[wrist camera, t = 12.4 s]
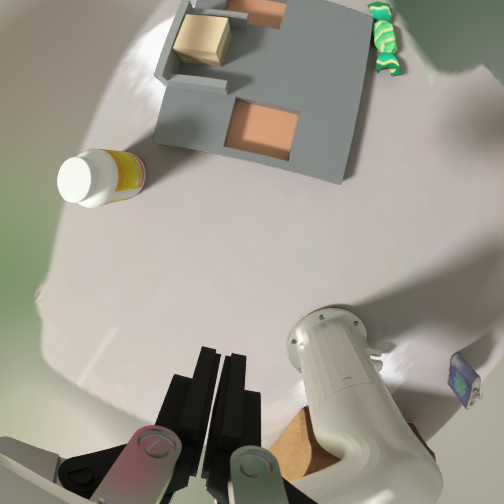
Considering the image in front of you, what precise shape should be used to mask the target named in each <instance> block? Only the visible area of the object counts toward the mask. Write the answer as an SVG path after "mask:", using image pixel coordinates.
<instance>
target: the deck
mask: <svg viewBox="0 0 504 504" xmlns="http://www.w3.org/2000/svg"><path fill="white" fill-rule="evenodd" d="M186 14H190V15H204V16H215V17H224V18H228V21H229V26H230V31H231V39H230V42H229V45H228V48H227V51H226V54H225V57H224V60H223V63H222V66H221V67H215V66H208V65H200V64H192V63H183V61H182V60H181V58H180V57H179V56H178V54H177V53H176V51H175V50H174V49H173V47H174V44H175V42H176V39H177V36H178V34H179V31H180V29H181V26H182V24H183V21H184V19H185V16H186ZM372 23H373V17H371V16H368V15H365V14H363V13H360V12H357V11H355V10H352V9H349V8H346V7H343V6H340V5H337V4H334V3H330V2H327V1H324V0H197V3H196V5H195V7H194V8H193V7H192V5H191V2H190V0H182V1H181V4H180V6H179V8H178V10H177V13H176V15H175V18H174V20H173V23H172V25H171V28H170V30H169V33H168V36H167V38H166V41H165V44H164V46H163V49H162V52H161V55H160V58H159V61H158V64H157V67H156V70H155V73H154V76H155V77H156V78H157V79H158V80H159V81H161V82H162V83H163V84H164V85H165V86H166V87H167V88H166V91H165V94H164V98H163V102H162V105H161V109H160V113H159V117H158V121H157V125H156V129H155V133H154V137H153V141H152V142H153V143H156V144H161V145H167V146H174V147H180V148H185V149H191V150H197V151H202V152H207V153H212V154H217V155H222V156H227V157H232V158H237V159H241V160H246V161H250V162H255V163H259V164H263V165H267V166H272V167H276V168H280V169H284V170H287V171H291V172H295V173H299V174H303V175H306V176H310V177H314V178H317V179H321V180H324V181H328V182H331V183H334V184H340V185H341V184H342V180H343V176H344V172H345V168H346V164H347V160H348V155H349V151H350V147H351V142H352V138H353V133H354V128H355V124H356V119H357V114H358V109H359V104H360V99H361V93H362V88H363V82H364V77H365V71H366V65H367V58H368V52H369V45H370V38H371V31H372Z"/></svg>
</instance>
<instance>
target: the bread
mask: <svg viewBox="0 0 504 504" xmlns="http://www.w3.org/2000/svg"><path fill="white" fill-rule="evenodd" d="M407 424H408V425H409V427H410V428H411V430H412V431H413V433H414V434H415V435H416V437H417V438H418V439H419V440H420V442H421V443H422V444H423V445H424V447H425V448H426V449H427V451H428V452H429V453H430V454H431V456H432V457H433V459H434V460H435V455H434V453H433V452H432V451H431V449H430V448H429V447H428V446H427V445H426V443H425V442H424V440H423V439H422V437H421V436H420V434H419V432H418V430H417V429H416V427H415V426H414V425H413V424H411V423H407ZM269 452H271V453H272V454H273V455H274V456H275V457H276V459H277V461H278V463H279V467H280V471H281V475H282V477H283V478H285V479H286V480H287V481H288V482H290V481H293V480H296V479H299V478H302V477H304V476H307V475H310V474H313V473H315V472H318V471H320V470H323V469H325V468H326V467H329V466H331V465H333V464H335V463H337V462H339V461H340V460H342V459H340V458H338V457H336V456H334V455H332V454H330V453H329V452H327V451H326V450H325V449H324V448H322V447H321V445H320V444H319V443H318V441H317V439H316V437H315V435H314V431H313V426H312V422H311V416H310V411H309V409H308V408H303V409H302V410H301V411H300V412H299V413H298V414H297V415H296V417H295V418H294V419H293V421H292V422H291V423H290V424H289V426H288V427H287V428H286V430H285V431H284V432H283V433H282V435H281V436H280V437H279V438H278V440H277V441H276V442H275V443H274V444H273V446H272V447H271V448H270V449H269ZM435 462H436V460H435Z"/></svg>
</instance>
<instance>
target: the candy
mask: <svg viewBox="0 0 504 504" xmlns="http://www.w3.org/2000/svg"><path fill="white" fill-rule="evenodd" d="M368 7H369V9H370V11H371V13H372V16H373V19H374V20H375V21H376V23H374V24H372V29H373V36H374V43H375V46H376V48H377V50H378V51H379V52H380V53H381V55H380V56H379V57H378V59H377V67H376V70H377V72H378V73H379V70H380V69H382V68H389V70H390V71H391V76H396V75H401V71H400V67H399V64H398V61H397V59H396V58H395V56H394V55H393V53H395V52H396V51H397V44H396V37H395V31H394V28H393V26H392V24H391V23H389V21H390V19H391V18H392V13H391V7H390V5H389V4H386V3H382V2H374V3H372V4H369V5H368Z"/></svg>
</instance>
